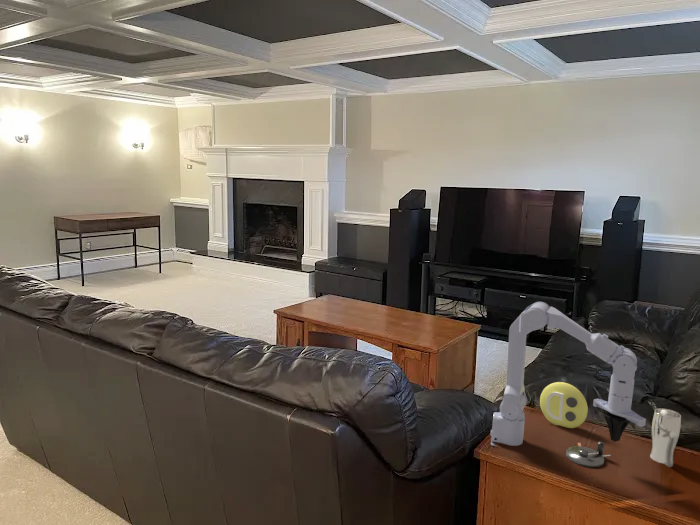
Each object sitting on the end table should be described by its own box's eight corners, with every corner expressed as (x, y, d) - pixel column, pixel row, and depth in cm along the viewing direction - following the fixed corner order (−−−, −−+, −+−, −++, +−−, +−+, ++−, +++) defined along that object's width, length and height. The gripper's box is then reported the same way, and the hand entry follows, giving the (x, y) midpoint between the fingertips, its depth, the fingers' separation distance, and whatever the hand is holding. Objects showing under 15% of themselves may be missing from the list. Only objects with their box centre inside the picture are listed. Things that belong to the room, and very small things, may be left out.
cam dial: (580, 468, 150) (582, 454, 149) (558, 450, 159) (560, 437, 159) (614, 465, 152) (616, 451, 152) (590, 447, 162) (592, 434, 161)
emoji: (536, 423, 180) (583, 436, 170) (538, 379, 178) (586, 389, 169) (541, 419, 183) (588, 432, 174) (544, 376, 182) (591, 386, 172)
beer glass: (665, 470, 153) (672, 420, 150) (642, 458, 159) (648, 410, 156) (680, 465, 156) (687, 416, 154) (656, 453, 162) (663, 406, 160)
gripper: (655, 401, 144) (648, 449, 147) (606, 382, 157) (601, 426, 159) (638, 405, 141) (632, 454, 143) (590, 385, 154) (585, 431, 156)
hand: (615, 440), depth 151 cm, fingers closed
